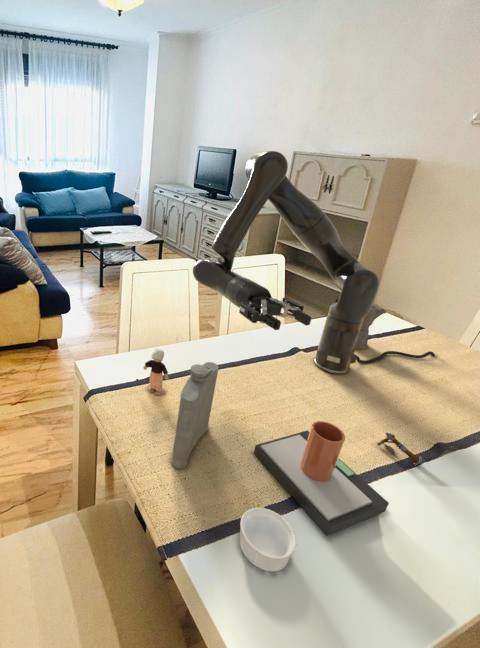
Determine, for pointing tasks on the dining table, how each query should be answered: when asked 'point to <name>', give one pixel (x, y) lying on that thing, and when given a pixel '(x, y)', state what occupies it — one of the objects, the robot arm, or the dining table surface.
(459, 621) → the dining table surface
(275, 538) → the ramekin
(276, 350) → the dining table surface
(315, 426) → the tumbler
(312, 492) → the scale
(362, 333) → the coffeepot
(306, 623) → the dining table surface
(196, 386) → the hip flask
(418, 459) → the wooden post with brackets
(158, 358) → the grandmother figurine
